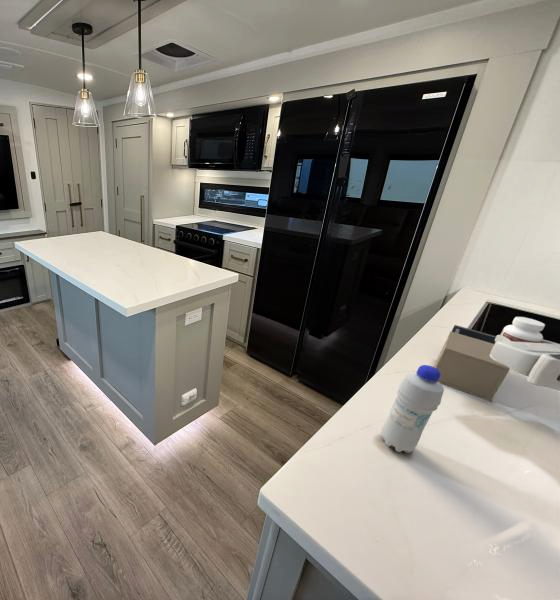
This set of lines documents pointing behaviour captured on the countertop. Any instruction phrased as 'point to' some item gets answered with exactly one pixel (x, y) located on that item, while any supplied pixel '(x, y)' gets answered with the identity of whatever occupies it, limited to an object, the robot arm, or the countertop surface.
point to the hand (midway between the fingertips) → (514, 338)
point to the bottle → (412, 408)
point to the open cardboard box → (470, 366)
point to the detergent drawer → (474, 334)
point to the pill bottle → (523, 331)
